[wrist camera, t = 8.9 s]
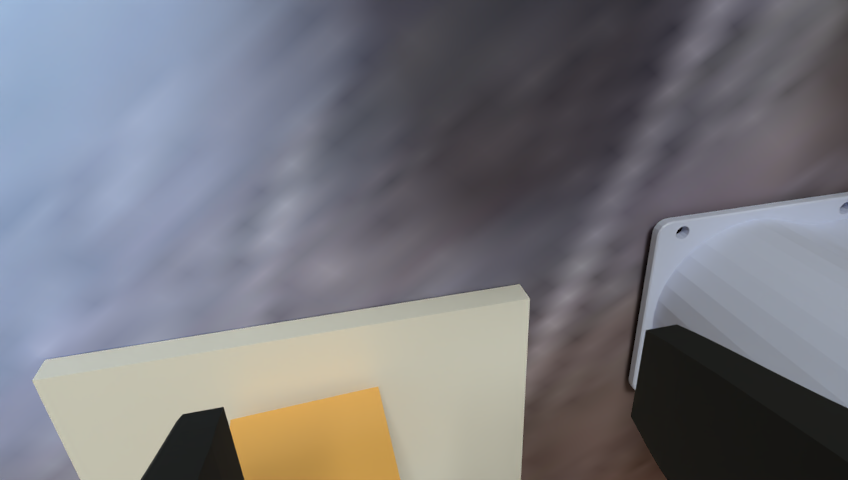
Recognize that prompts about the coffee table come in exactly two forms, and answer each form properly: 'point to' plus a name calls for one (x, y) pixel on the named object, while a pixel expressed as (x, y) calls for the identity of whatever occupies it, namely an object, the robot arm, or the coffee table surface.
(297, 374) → the board
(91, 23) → the coffee table surface
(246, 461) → the amber foam cube
